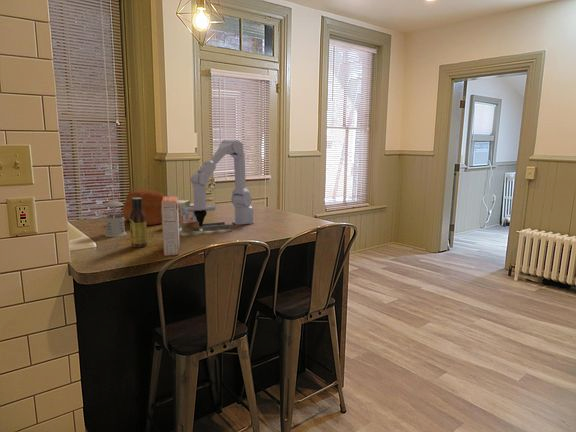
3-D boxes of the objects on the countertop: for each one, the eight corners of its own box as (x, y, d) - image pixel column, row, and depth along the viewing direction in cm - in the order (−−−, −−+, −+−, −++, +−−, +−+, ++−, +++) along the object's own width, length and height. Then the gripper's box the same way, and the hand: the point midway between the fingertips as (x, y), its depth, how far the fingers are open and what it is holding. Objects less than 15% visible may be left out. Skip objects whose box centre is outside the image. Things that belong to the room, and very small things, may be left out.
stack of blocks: (187, 219, 224) (186, 197, 222) (197, 220, 223) (197, 197, 221) (168, 227, 204) (167, 203, 201) (180, 228, 202) (179, 203, 200)
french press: (104, 237, 180) (101, 180, 176) (102, 232, 191) (99, 178, 186) (128, 235, 185) (125, 180, 180) (125, 230, 195) (122, 177, 191)
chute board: (221, 226, 209) (221, 224, 209) (231, 231, 197) (231, 230, 197) (174, 230, 198) (174, 228, 197) (181, 236, 186) (181, 234, 185)
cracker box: (164, 247, 167) (162, 196, 163) (180, 246, 168) (178, 195, 165) (162, 256, 154) (160, 201, 150) (179, 255, 155) (177, 200, 151)
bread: (143, 227, 203) (142, 193, 200) (120, 221, 216) (118, 189, 213) (173, 222, 216) (172, 190, 213) (149, 217, 229) (148, 187, 226)
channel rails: (224, 225, 206) (223, 221, 206) (229, 228, 200) (229, 224, 199) (198, 227, 200) (198, 223, 200) (203, 231, 193) (203, 226, 193)
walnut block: (196, 228, 198) (196, 220, 197) (199, 230, 194) (199, 222, 193) (181, 229, 195) (181, 221, 194) (184, 231, 191) (184, 223, 190)
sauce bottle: (133, 244, 170) (131, 196, 167) (149, 244, 171) (147, 196, 167) (129, 248, 164) (126, 198, 160) (145, 248, 164) (142, 199, 161)
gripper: (186, 199, 187) (187, 229, 189) (217, 198, 194) (217, 226, 196) (182, 197, 193) (183, 226, 195) (212, 196, 200) (212, 223, 202)
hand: (200, 226), depth 196 cm, fingers closed
